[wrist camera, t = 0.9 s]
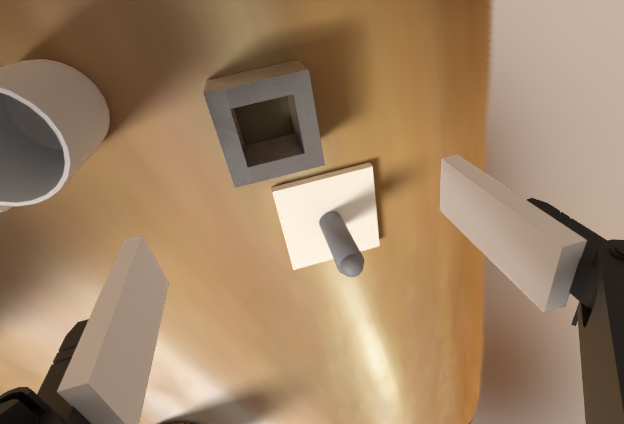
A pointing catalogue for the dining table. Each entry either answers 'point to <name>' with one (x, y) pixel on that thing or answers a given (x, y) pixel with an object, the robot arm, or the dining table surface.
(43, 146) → the cup
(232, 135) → the grey square storage bin
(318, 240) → the peg stand
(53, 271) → the dining table surface
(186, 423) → the mug
